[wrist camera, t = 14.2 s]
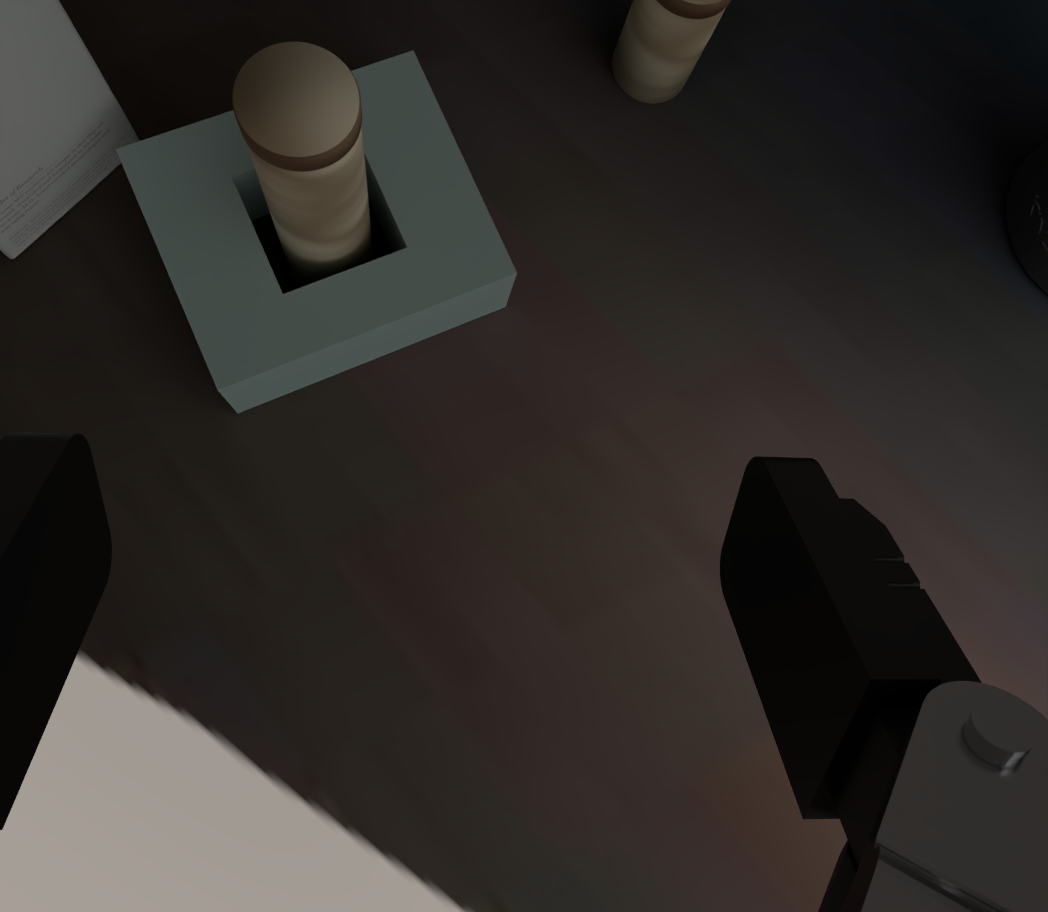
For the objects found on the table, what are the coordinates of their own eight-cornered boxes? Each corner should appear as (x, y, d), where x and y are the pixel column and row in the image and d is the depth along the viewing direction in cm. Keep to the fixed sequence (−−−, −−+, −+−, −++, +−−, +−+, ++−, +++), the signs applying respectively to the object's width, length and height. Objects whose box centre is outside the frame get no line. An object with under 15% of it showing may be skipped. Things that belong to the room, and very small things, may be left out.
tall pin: (354, 202, 38) (331, 24, 27) (388, 278, 38) (380, 132, 26) (272, 232, 38) (211, 63, 26) (306, 310, 37) (260, 174, 26)
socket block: (412, 105, 39) (413, 50, 36) (505, 306, 38) (516, 272, 35) (146, 197, 37) (115, 149, 33) (237, 413, 36) (217, 390, 32)
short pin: (667, 21, 42) (718, -94, 35) (701, 89, 41) (760, -13, 35) (597, 45, 41) (635, -67, 34) (631, 115, 41) (677, 16, 34)
